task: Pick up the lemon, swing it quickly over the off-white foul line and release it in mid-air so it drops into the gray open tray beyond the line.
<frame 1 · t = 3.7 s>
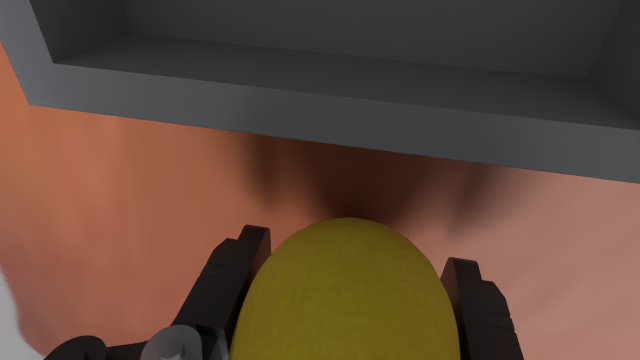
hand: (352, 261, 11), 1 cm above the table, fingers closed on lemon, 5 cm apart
lemon: (357, 229, 12), on the table, touching gripper
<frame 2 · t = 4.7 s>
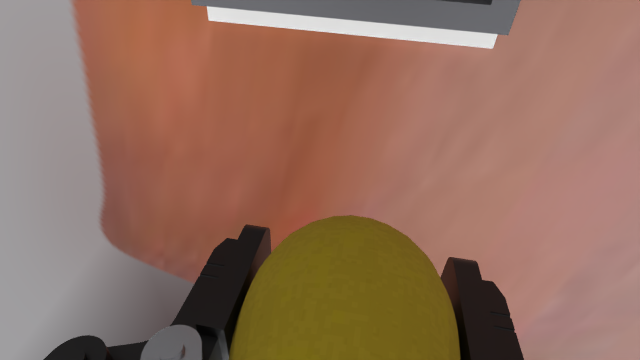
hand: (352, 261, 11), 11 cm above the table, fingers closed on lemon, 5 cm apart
lemon: (357, 227, 13), point 9 cm above the table, touching gripper
foul line: (347, 24, 17), on the table
when the fingers open (13 cm above the table, at t = 5.8 s): lemon drops 11 cm, resting on gray open tray.
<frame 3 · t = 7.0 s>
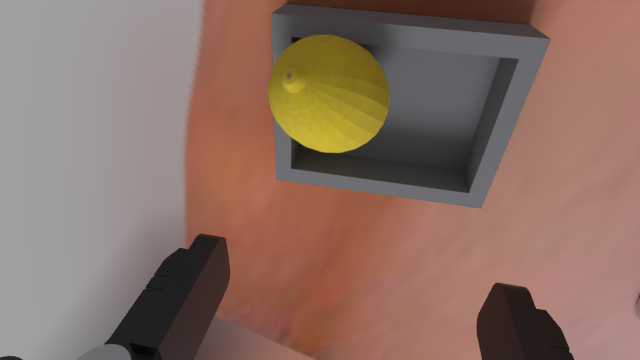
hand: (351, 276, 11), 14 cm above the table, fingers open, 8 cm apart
gray open tray: (388, 101, 22), on the table
lemon: (361, 112, 22), point 1 cm above the table, touching gray open tray
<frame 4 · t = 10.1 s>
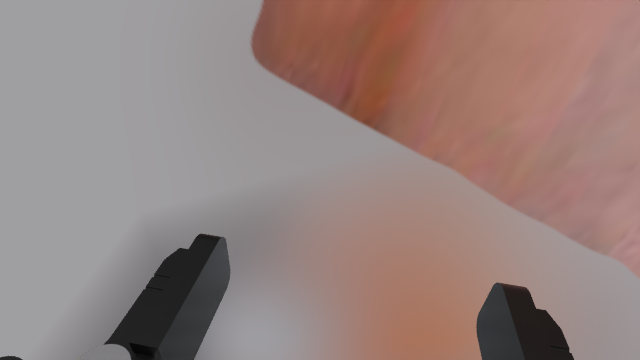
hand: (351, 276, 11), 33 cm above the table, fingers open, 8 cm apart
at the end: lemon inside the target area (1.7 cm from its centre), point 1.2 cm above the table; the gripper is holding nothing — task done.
